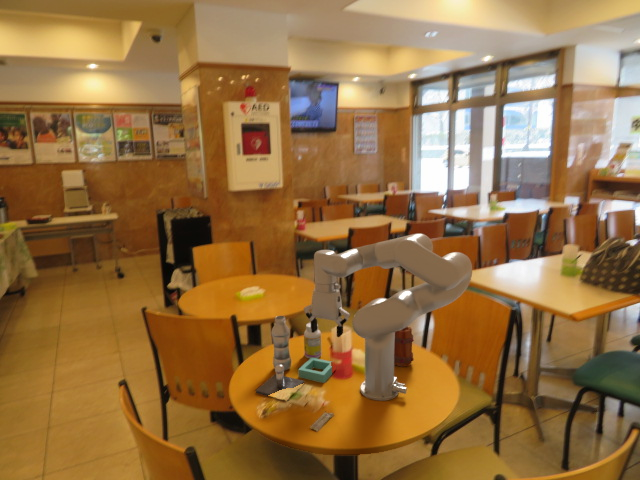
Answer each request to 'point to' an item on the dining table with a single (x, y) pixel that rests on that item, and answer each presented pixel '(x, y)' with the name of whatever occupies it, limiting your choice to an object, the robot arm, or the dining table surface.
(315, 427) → the snack bar
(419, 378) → the dining table surface
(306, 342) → the supplement bottle
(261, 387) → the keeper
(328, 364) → the teal square frame
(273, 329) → the plastic bottle
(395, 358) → the mug
